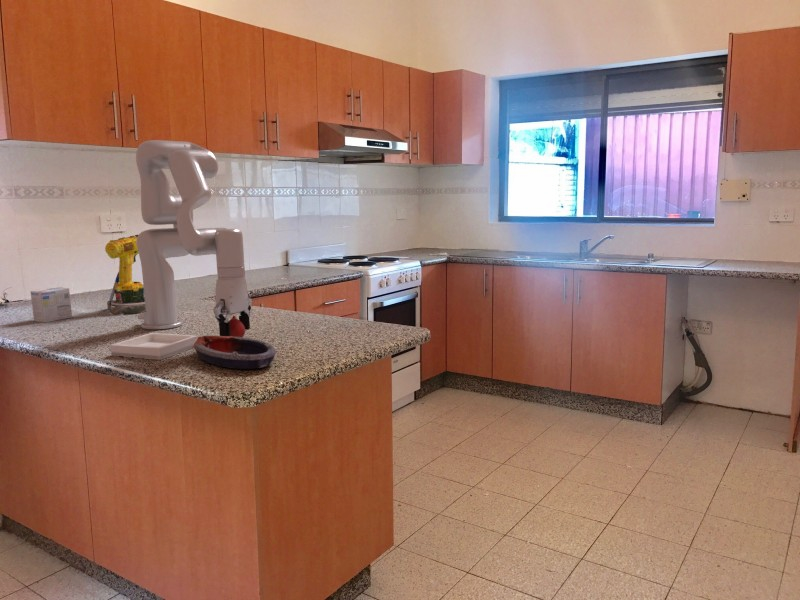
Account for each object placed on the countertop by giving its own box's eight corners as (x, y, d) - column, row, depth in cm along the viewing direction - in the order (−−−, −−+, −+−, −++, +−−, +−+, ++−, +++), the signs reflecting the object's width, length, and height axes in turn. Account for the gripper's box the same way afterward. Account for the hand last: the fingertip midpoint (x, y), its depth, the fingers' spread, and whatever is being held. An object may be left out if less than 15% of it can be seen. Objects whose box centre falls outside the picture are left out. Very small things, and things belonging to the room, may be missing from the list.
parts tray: (111, 355, 175) (110, 344, 174) (152, 342, 189) (151, 332, 189) (160, 359, 169) (159, 348, 169) (198, 346, 184) (198, 335, 183)
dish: (237, 378, 151) (235, 357, 151) (178, 356, 174) (177, 338, 173) (293, 365, 162) (292, 346, 161) (231, 346, 184) (230, 329, 183)
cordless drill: (166, 310, 243) (160, 236, 238) (110, 316, 234) (103, 238, 229) (157, 304, 259) (152, 234, 254) (105, 308, 250) (98, 236, 245)
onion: (221, 343, 187) (219, 316, 186) (238, 340, 191) (237, 313, 190) (231, 346, 183) (229, 318, 181) (249, 343, 187) (248, 315, 185)
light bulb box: (62, 316, 236) (58, 286, 234) (73, 317, 232) (70, 287, 231) (32, 321, 227) (29, 290, 225) (43, 323, 223) (40, 291, 222)
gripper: (237, 269, 193) (241, 326, 195) (200, 276, 177) (205, 338, 179) (259, 269, 190) (262, 327, 193) (224, 277, 174) (228, 339, 177)
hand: (235, 332), depth 186 cm, fingers open, 9 cm apart
